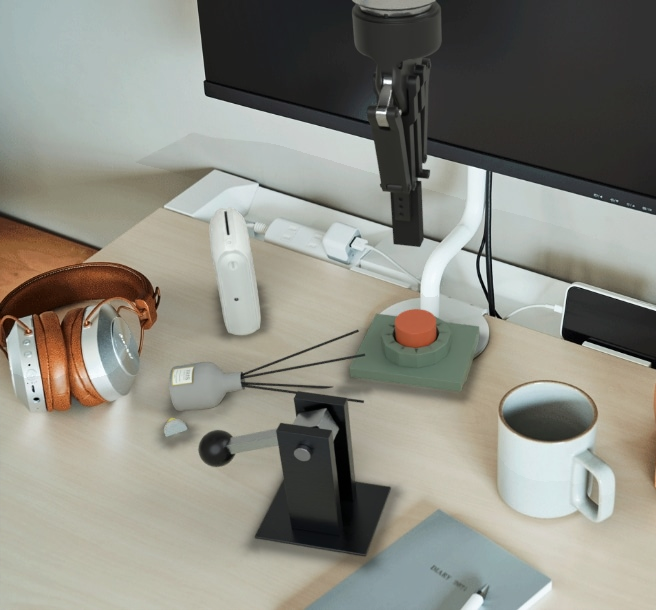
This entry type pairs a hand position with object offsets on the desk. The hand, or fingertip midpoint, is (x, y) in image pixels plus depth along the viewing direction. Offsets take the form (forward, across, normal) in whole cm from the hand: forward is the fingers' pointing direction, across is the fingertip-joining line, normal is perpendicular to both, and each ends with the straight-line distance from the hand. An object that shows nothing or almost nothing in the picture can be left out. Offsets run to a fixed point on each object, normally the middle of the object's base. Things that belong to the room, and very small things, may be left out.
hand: (408, 241), depth 91 cm
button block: (+16, +1, 0) cm, 16 cm away
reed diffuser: (+16, -9, +13) cm, 23 cm away
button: (+13, +1, 0) cm, 13 cm away
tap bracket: (+16, -23, +2) cm, 28 cm away
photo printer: (+16, +6, +23) cm, 28 cm away
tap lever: (+8, -23, +6) cm, 25 cm away
